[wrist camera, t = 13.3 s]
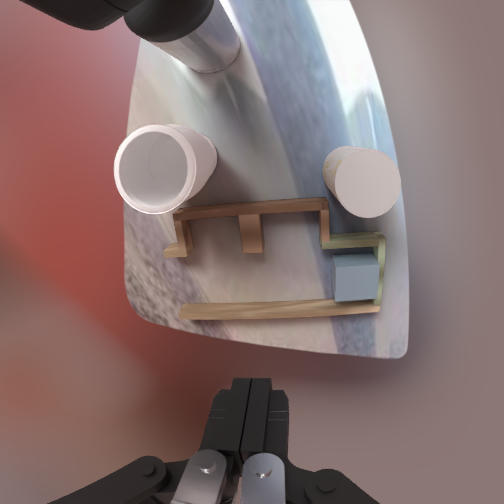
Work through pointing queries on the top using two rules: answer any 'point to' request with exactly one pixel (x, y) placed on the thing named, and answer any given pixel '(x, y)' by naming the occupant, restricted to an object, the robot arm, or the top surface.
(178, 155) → the jar
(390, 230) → the top surface
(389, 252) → the top surface
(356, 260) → the block
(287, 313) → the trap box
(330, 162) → the white cylinder
